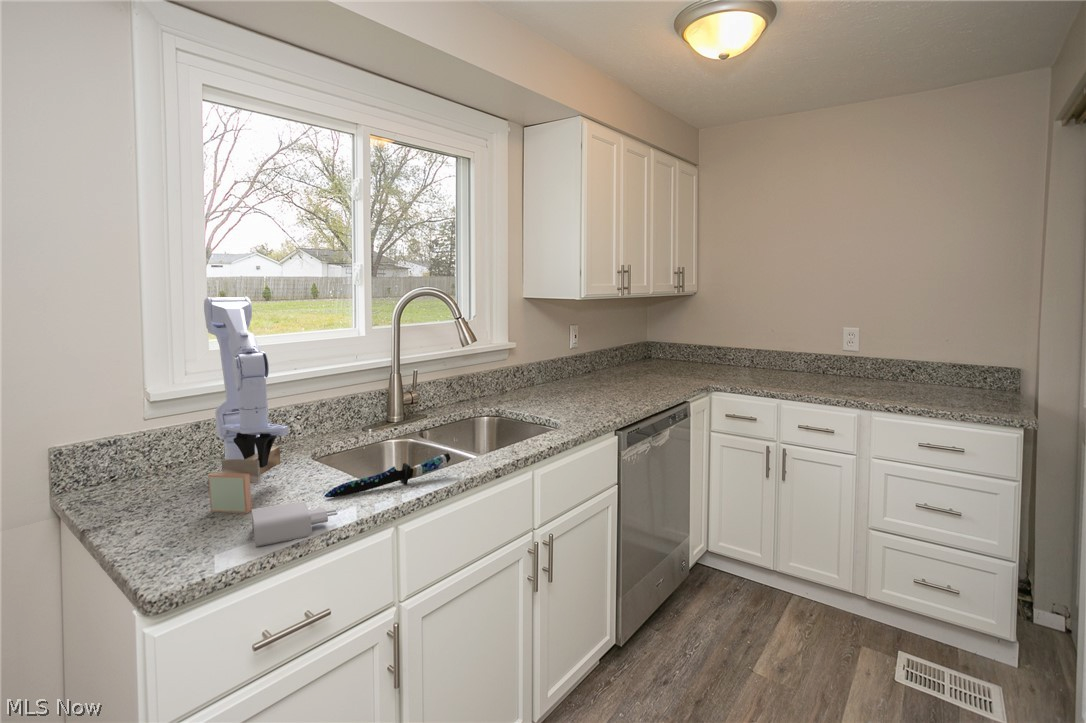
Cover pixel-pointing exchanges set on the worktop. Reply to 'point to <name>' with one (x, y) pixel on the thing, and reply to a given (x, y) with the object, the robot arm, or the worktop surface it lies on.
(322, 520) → the charger
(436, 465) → the knife
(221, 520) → the worktop surface
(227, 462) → the scraper
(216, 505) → the tile
